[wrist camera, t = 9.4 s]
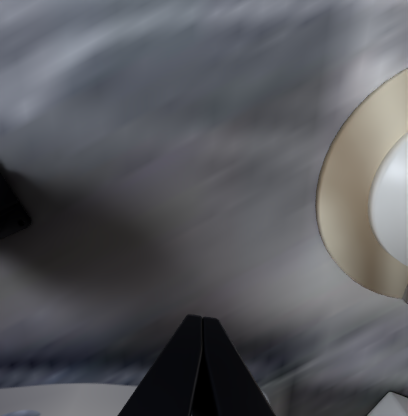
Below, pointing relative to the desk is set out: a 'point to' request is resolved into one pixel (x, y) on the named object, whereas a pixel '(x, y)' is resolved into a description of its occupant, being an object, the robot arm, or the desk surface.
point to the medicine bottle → (391, 406)
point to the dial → (391, 202)
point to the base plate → (362, 189)
